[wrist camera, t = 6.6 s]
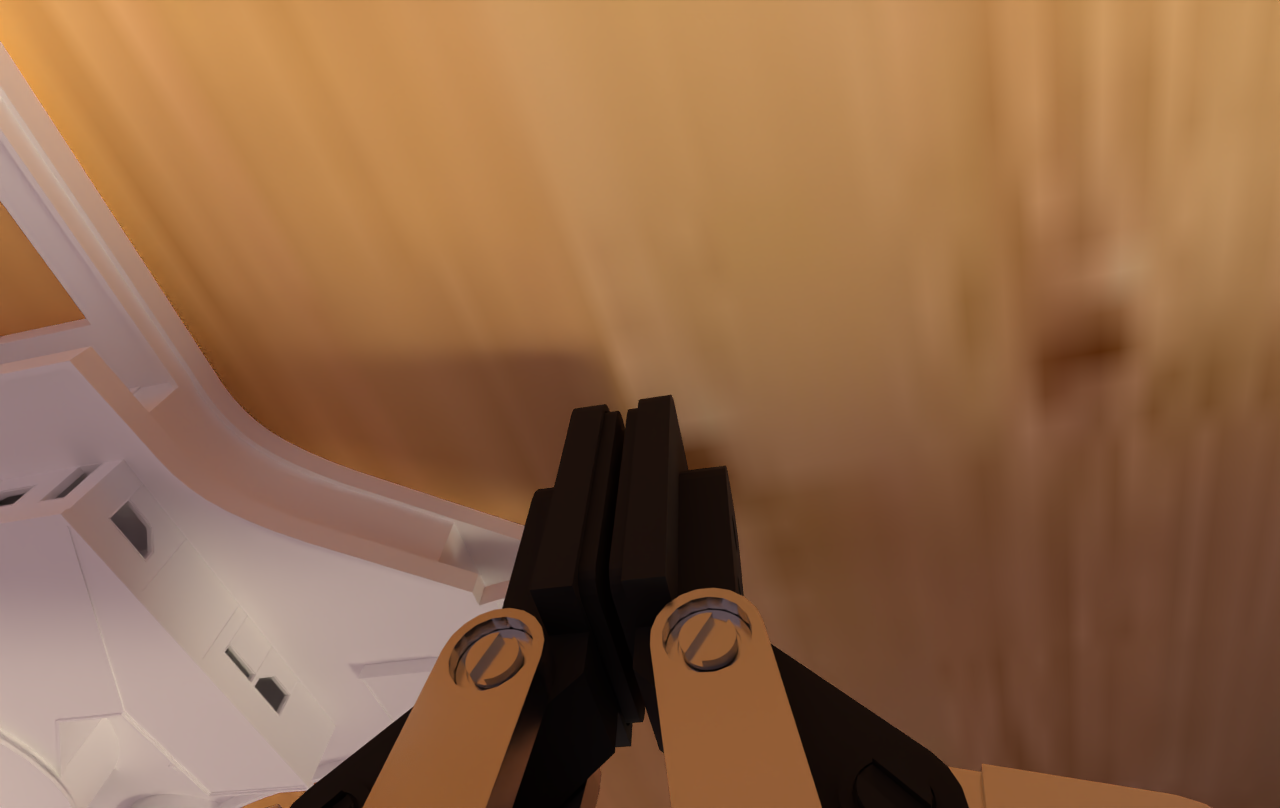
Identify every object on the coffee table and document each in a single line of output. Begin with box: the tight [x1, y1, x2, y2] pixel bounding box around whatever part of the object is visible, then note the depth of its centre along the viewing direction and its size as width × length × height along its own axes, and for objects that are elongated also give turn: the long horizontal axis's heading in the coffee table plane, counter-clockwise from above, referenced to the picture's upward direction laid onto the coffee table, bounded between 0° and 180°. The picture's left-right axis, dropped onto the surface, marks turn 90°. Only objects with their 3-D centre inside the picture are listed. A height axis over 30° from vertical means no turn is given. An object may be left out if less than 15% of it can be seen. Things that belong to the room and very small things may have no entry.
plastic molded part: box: [0, 41, 525, 808], centre depth 14 cm, size 23×25×4 cm
